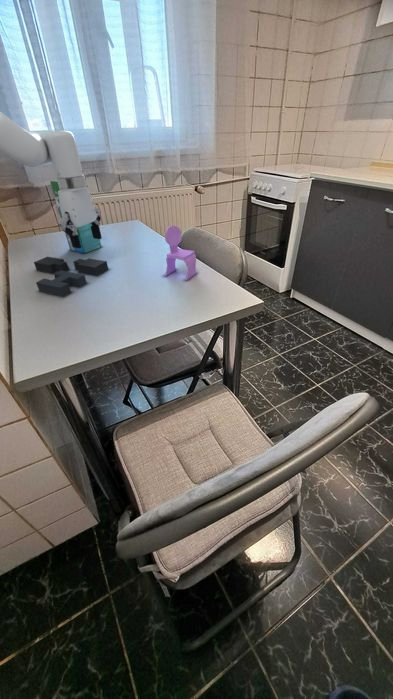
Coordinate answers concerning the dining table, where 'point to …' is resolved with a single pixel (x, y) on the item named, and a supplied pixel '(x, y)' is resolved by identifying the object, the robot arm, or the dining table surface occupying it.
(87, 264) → the pad
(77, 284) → the pad
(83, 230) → the milk carton
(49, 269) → the pad
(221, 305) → the dining table surface
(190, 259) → the toy chair
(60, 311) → the dining table surface
